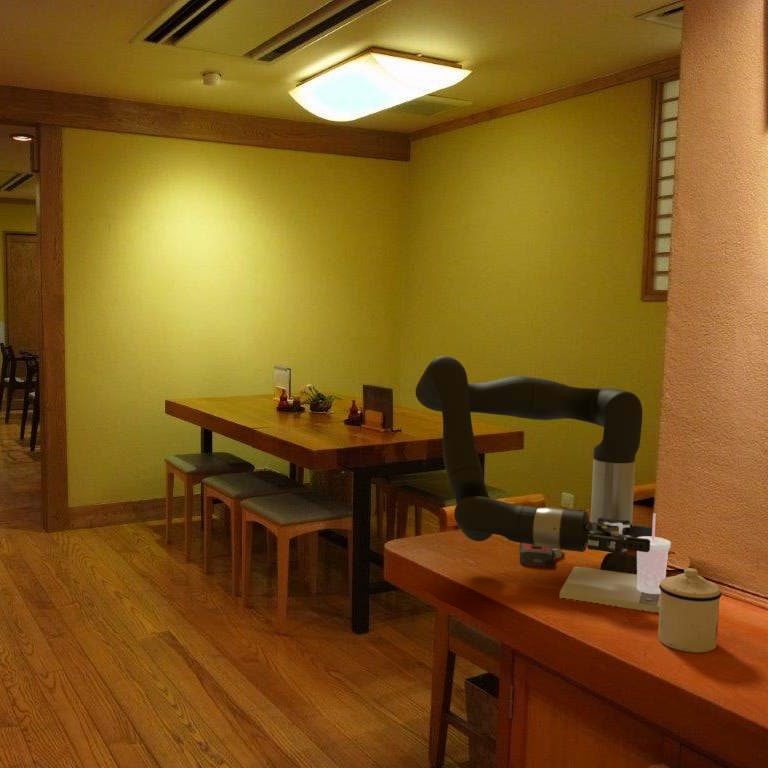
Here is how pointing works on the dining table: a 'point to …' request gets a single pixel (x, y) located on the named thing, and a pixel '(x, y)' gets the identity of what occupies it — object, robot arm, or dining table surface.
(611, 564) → the hand tool
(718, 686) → the dining table surface
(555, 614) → the dining table surface
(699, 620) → the teacup with lid
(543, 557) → the walkie-talkie
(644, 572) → the beverage cup
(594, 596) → the floor panel
